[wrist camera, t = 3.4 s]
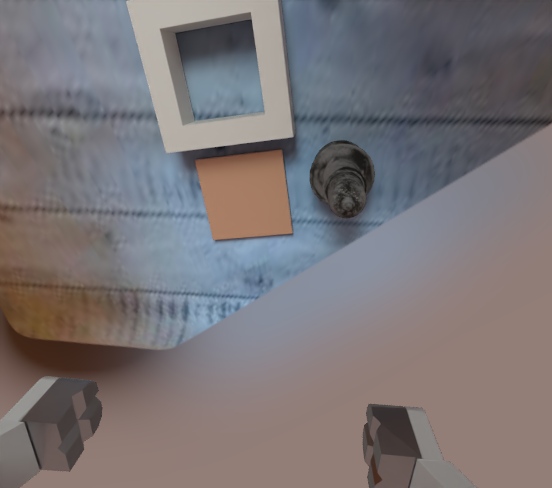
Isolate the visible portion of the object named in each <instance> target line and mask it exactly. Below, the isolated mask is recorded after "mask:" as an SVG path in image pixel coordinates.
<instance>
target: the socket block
mask: <svg viewBox="0 0 552 488" xmlns="http://www.w3.org/2000/svg"><path fill="white" fill-rule="evenodd" d="M126 3H127V6H128V10H129V14H130V18H131V22H132V25H133V29H134V33H135V37H136V40H137V44H138V48H139V52H140V56H141V59H142V63H143V67H144V71H145V74H146V78H147V82H148V86H149V90H150V93H151V97H152V101H153V105H154V108H155V112H156V116H157V120H158V124H159V127H160V131H161V135H162V139H163V143H164V146H165V150H166V153H172V152H180V151H188V150H196V149H204V148H212V147H220V146H228V145H236V144H244V143H252V142H260V141H267V140H275V139H283V138H291V137H294V134H295V132H296V131H295V122H294V113H293V104H292V94H291V85H290V76H289V67H288V58H287V49H286V40H285V31H284V22H283V12H282V3H281V0H132V1H127V2H126ZM250 19H252V24H253V31H254V38H255V45H256V53H257V60H258V67H259V74H260V81H261V88H262V95H263V102H264V109H265V111H264V112H257V113H250V114H243V115H235V116H228V117H221V118H214V119H206V120H199V121H195V120H194V115H193V111H192V106H191V102H190V97H189V93H188V88H187V84H186V79H185V75H184V70H183V66H182V61H181V57H180V52H179V48H178V43H177V39H176V34H175V33H178V32H184V31H190V30H195V29H201V28H206V27H212V26H217V25H223V24H228V23H234V22H239V21H245V20H250Z"/></svg>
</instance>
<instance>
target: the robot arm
mask: <svg viewBox="0 0 552 488" xmlns="http://www.w3.org/2000/svg"><path fill="white" fill-rule="evenodd" d="M98 391H99V390H98V387H97V383H96V382H94V381H89V380H80V379H71V378H59V377H50V376H45V377H43V378H41V379H40V380H39V381H38V382H37V383H36V384H35V385H34V386H33V387H32V388H31V389H30V390H29V391H28V392H27V393H26V394H25V395H24V397H22V398H21V400H20V401H19V402H18V403H17V404H16V405H15V406H14V407H13V408H12V409H11V410H10V411H9V412H8V413H7V414H6V415H5V416H4V417H3V418H2V419H1V420H0V488H20V487H21V486H22V485H23V484H25V483H26V482H27V481H29V480H30V479H31V478H32V477H33V476H35V475H36V474H37V473H39V472H40V470H54V471H69V472H70V470H71V469H72V467H73V466H74V464H75V463H76V461H77V460H78V458H79V457H80V455H81V454H82V452H83V450H84V444H83V442H84V441H86V440H87V439H89V438H90V437H92V436H93V435H94V433H95V431H96V430H97V428H98V426H99V423H100V420H101V417H102V404H101V401H100V400H99V399H98V398H97V397H96V396H95V395H96V394H97V392H98ZM366 416H367V421H368V422H367V423H366V424H365V425H364V431H363V451H364V459H365V462H366V463H367V464H368V466H369V472H368V477H367V478H368V484H369V488H477V487H476V486H475V485H474V484H473V483H472V482H471V481H470V480H469V479H468V478H467V477H466V476H465V475H463V474H462V473H461V472H460V471H459V470H458V469H457V468H456V467H455V466H454V465H453V464H452V463H451V462H448V461H444V459H443V456H442V453H441V451H440V448H439V446H438V443H437V441H436V438H435V435H434V433H433V430H432V428H431V425H430V423H429V420H428V418H427V415H426V412H425V411H424V410H423V408H417V407H403V406H390V405H389V406H388V405H377V404H369V405H368V407H367V412H366Z"/></svg>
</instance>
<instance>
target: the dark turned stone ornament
mask: <svg viewBox="0 0 552 488" xmlns="http://www.w3.org/2000/svg"><path fill="white" fill-rule="evenodd" d="M374 176H375V171H374V165H373V163H372V161H371V158H370V157H369V156H368V155H367V153H366V152H365V151H364V150H362V149H361V148H359V147H358V146H357V145H355V144H353V143H352V142H348V141H334V142H331V143H329V144H327V145H325V146H324V147H323V148H322V149H321V150H320V151H319V152H318V154H317V155H316V157H315V160H314V162H313V163H312V167H311V170H310V184H311V188H312V190H313V191H314V193H315V195H316V196H317V197H318V198H319V199H320V200H321V201H323V202H324V203H326V204H328V205H329V207H330V208H331V210H332V211H333V212H334V213H335V214H336V215H337V216H339V217H342V218H351V217H354V216H356V215H358V214H359V213H360V212H361V211H362V210H363V208H364V206H365V203H366V195H367V194H368V192H369V191H370V190H371V187H372V185H373V182H374Z"/></svg>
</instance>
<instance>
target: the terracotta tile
mask: <svg viewBox="0 0 552 488" xmlns="http://www.w3.org/2000/svg"><path fill="white" fill-rule="evenodd" d="M195 163H196V168H197V172H198V176H199V180H200V185H201V189H202V193H203V198H204V202H205V206H206V210H207V215H208V219H209V223H210V228H211V232H212V236H213V240H219V239H231V238H243V237H255V236H267V235H279V234H291V233H293V228H292V221H291V213H290V205H289V197H288V189H287V181H286V174H285V166H284V158H283V150H282V149H277V150H269V151H260V152H252V153H244V154H236V155H227V156H219V157H211V158H203V159H196V160H195Z"/></svg>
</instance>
